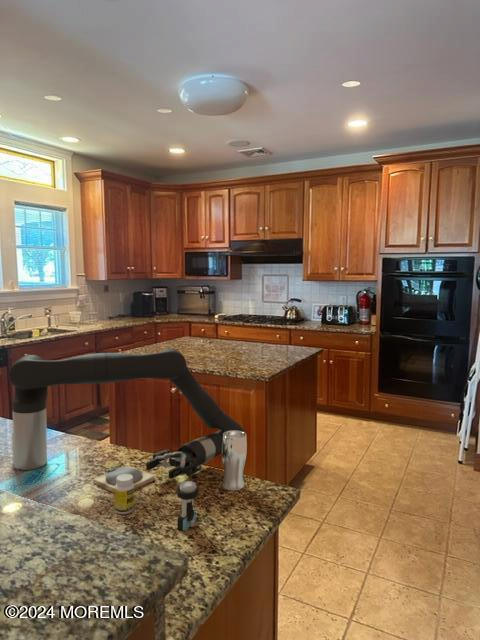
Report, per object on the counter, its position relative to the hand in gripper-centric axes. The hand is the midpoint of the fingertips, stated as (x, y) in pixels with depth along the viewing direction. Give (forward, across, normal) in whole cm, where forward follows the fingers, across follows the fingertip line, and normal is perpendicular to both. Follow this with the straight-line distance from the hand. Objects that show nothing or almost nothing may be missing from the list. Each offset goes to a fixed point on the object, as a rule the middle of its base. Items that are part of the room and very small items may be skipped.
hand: (158, 470), depth 119 cm
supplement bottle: (+12, 0, +6) cm, 13 cm away
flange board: (+2, -12, +6) cm, 13 cm away
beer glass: (-16, +14, +6) cm, 22 cm away
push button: (+6, +17, +6) cm, 19 cm away
